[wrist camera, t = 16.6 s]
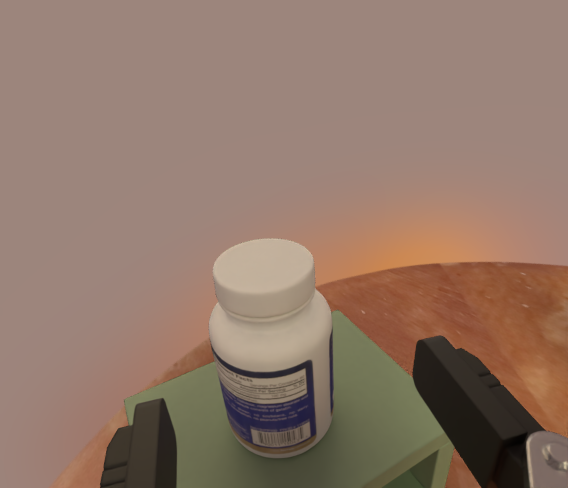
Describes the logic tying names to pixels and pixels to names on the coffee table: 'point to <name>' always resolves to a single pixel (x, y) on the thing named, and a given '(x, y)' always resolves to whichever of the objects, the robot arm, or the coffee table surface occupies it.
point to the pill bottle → (272, 347)
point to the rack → (335, 443)
